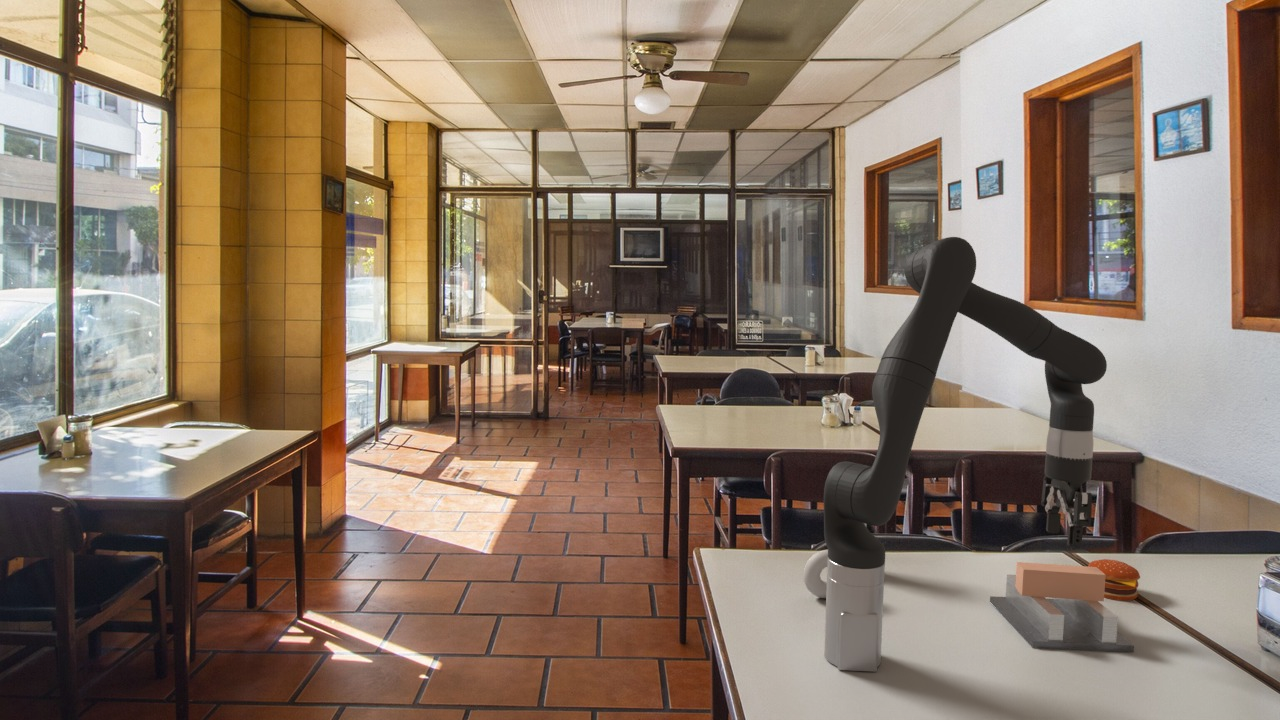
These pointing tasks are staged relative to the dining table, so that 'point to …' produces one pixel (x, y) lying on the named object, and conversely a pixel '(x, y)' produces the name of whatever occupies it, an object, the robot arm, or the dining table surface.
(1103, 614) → the aluminium rail channel
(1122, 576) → the hamburger
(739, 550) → the dining table surface
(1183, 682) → the dining table surface
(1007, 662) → the dining table surface
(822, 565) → the donut
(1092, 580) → the clay strip
